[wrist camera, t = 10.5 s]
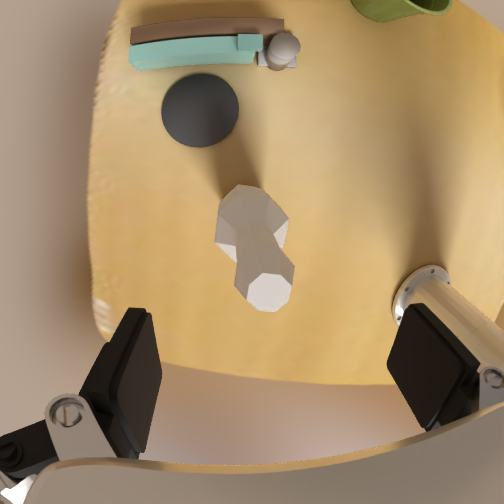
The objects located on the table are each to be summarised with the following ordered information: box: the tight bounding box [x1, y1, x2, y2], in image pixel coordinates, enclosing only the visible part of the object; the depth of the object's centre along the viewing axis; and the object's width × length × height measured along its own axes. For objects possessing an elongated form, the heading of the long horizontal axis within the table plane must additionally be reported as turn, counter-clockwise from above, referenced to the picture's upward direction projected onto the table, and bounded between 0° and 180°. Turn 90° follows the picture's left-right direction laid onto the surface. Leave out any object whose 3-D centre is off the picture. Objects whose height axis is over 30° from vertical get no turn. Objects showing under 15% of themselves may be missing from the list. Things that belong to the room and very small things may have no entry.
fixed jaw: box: [130, 17, 300, 71], centre depth 25 cm, size 5×18×6 cm, turn 90°
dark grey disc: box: [162, 74, 239, 147], centre depth 30 cm, size 9×9×1 cm
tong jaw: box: [129, 34, 263, 71], centre depth 24 cm, size 2×14×6 cm, turn 89°
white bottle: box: [214, 184, 295, 312], centre depth 25 cm, size 6×6×22 cm
